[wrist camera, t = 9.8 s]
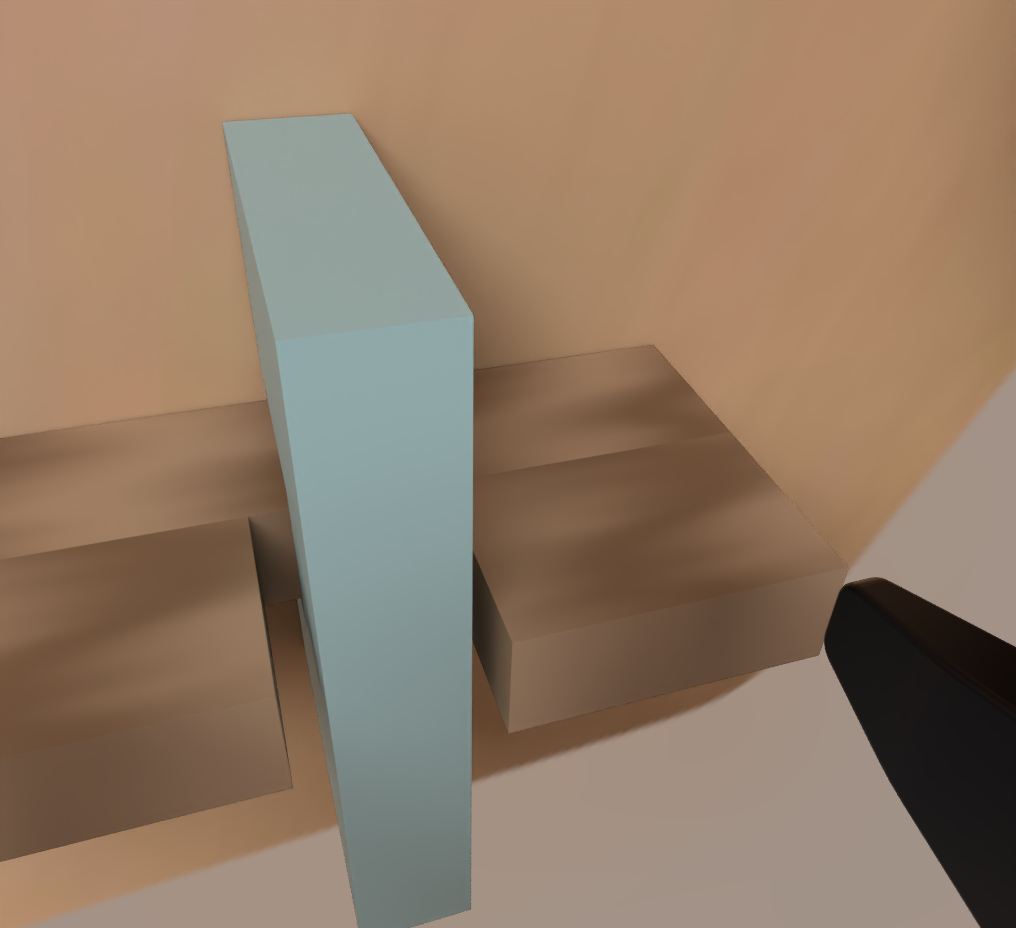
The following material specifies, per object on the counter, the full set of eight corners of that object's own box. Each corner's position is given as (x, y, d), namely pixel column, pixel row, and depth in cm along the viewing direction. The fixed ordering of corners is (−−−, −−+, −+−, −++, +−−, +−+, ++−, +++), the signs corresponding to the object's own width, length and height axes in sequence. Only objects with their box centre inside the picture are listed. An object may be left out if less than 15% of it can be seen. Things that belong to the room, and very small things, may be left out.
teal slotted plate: (389, 631, 22) (470, 909, 17) (304, 649, 22) (361, 942, 16) (351, 113, 15) (473, 314, 10) (222, 122, 14) (274, 341, 9)
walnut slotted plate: (653, 344, 19) (849, 567, 14) (642, 423, 21) (819, 655, 15) (-97, 452, 16) (-211, 806, 10) (-57, 540, 17) (-141, 897, 12)
